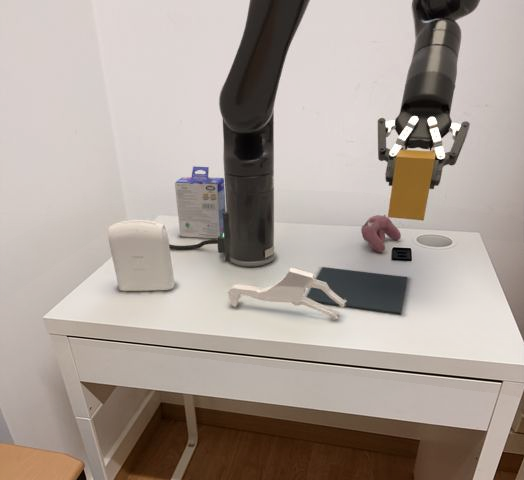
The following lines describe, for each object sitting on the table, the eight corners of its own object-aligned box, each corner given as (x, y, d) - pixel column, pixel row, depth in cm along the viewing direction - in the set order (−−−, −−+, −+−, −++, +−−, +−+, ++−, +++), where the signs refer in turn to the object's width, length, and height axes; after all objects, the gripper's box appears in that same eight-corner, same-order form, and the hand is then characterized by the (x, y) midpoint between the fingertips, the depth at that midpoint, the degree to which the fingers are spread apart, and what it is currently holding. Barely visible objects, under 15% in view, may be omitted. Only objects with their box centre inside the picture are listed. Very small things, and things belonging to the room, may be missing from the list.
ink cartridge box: (228, 231, 111) (224, 166, 103) (221, 239, 107) (217, 172, 99) (187, 228, 113) (181, 164, 105) (179, 237, 109) (172, 170, 101)
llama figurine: (320, 344, 82) (227, 297, 82) (352, 292, 75) (249, 240, 75) (318, 350, 81) (223, 302, 81) (350, 297, 74) (246, 245, 74)
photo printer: (115, 292, 86) (101, 225, 79) (121, 282, 90) (108, 217, 83) (172, 292, 86) (163, 225, 79) (176, 281, 89) (168, 216, 82)
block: (387, 217, 75) (396, 156, 70) (391, 207, 79) (399, 149, 74) (423, 220, 73) (434, 158, 68) (425, 210, 77) (436, 151, 72)
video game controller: (384, 243, 108) (374, 213, 106) (403, 237, 105) (393, 207, 103) (365, 257, 101) (354, 225, 99) (384, 252, 98) (373, 219, 96)
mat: (304, 301, 82) (305, 299, 82) (322, 268, 93) (322, 266, 93) (400, 314, 78) (400, 312, 78) (407, 279, 89) (407, 277, 89)
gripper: (383, 68, 74) (363, 167, 71) (483, 69, 70) (465, 174, 67) (382, 102, 81) (364, 193, 78) (473, 105, 77) (457, 201, 74)
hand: (411, 184), depth 73 cm, fingers closed on block, 5 cm apart
